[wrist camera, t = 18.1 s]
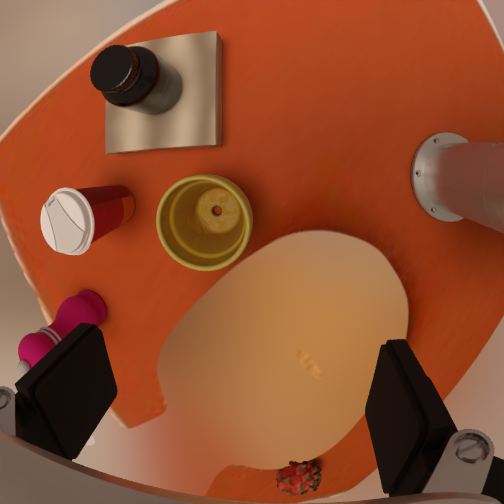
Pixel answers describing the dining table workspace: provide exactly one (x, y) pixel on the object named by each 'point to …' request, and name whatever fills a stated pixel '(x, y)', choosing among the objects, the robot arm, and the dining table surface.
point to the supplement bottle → (136, 79)
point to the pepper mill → (61, 327)
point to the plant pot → (204, 222)
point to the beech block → (187, 107)
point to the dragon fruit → (299, 478)
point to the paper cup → (84, 216)
